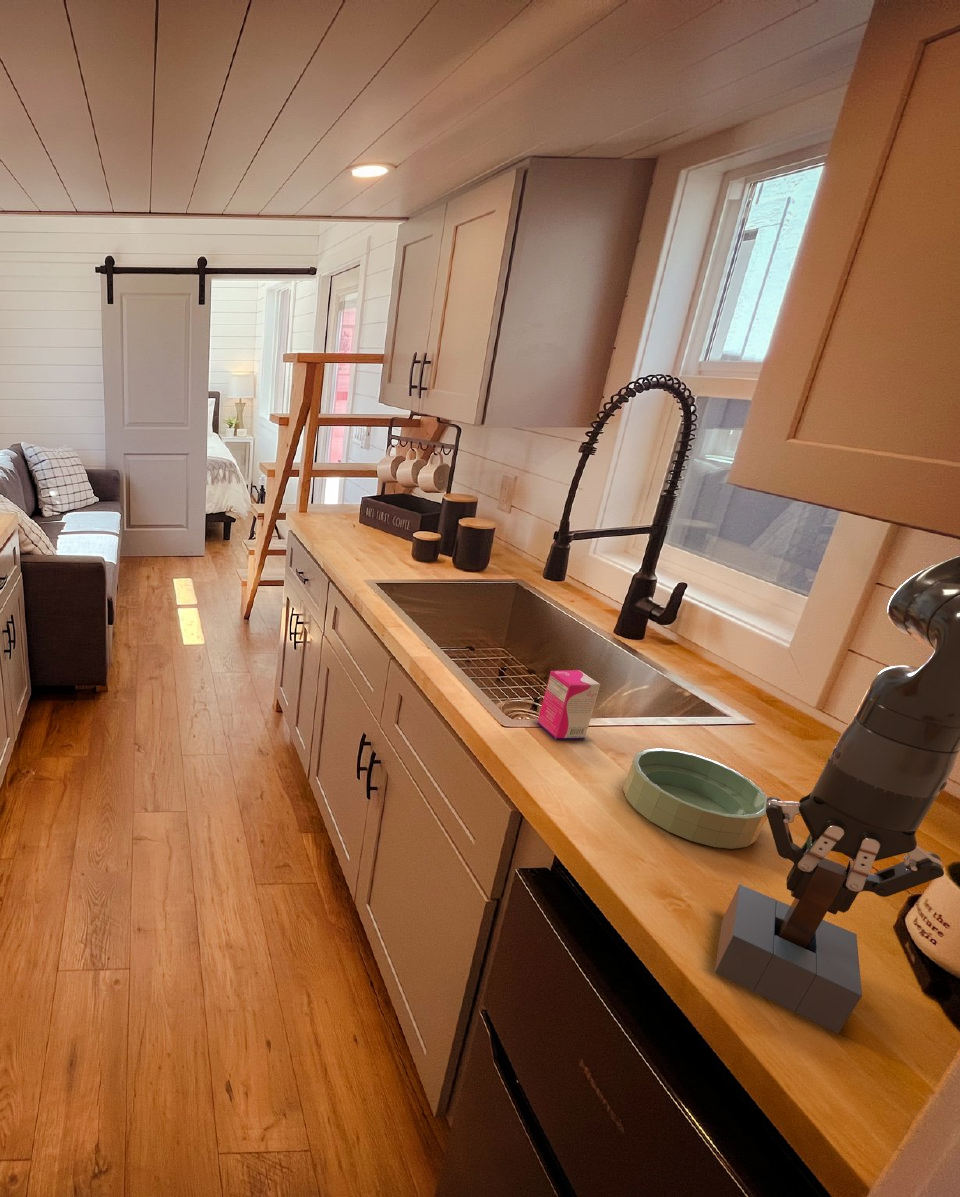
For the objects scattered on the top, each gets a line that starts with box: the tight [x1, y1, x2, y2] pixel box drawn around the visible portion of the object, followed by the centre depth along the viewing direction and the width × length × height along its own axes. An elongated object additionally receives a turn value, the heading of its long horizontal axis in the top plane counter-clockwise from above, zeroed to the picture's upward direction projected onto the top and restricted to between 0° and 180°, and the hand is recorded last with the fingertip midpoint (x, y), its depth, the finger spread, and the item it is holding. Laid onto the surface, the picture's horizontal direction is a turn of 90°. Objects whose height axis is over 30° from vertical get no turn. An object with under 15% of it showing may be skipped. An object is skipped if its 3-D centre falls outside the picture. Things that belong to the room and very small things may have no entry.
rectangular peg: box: [775, 857, 847, 949], centre depth 71 cm, size 2×2×16 cm
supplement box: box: [537, 669, 601, 741], centre depth 117 cm, size 6×6×12 cm
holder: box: [714, 883, 863, 1035], centre depth 73 cm, size 10×10×6 cm
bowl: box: [622, 747, 769, 850], centre depth 98 cm, size 16×16×6 cm
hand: (812, 900), depth 70 cm, fingers closed on rectangular peg, 2 cm apart
